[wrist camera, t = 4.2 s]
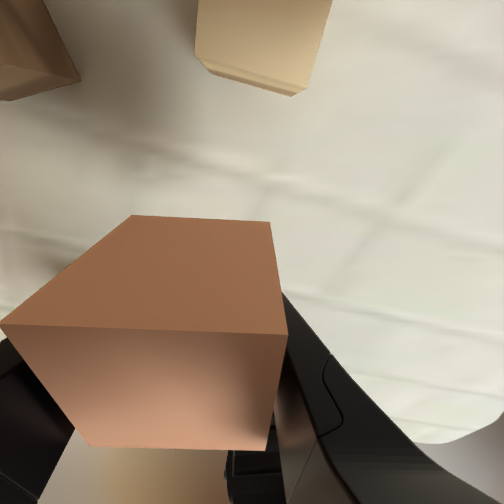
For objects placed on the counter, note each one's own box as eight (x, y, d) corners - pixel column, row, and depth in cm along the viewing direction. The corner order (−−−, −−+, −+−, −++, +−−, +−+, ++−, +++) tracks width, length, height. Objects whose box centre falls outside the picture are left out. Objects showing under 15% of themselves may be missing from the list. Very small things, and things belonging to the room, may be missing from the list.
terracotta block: (260, 318, 11) (265, 450, 7) (154, 314, 11) (89, 446, 6) (269, 221, 8) (288, 334, 4) (131, 215, 8) (-4, 324, 4)
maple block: (290, 96, 14) (307, 87, 10) (212, 74, 14) (194, 54, 9) (320, -16, 12) (359, -91, 8) (226, -49, 11) (210, -152, 7)
